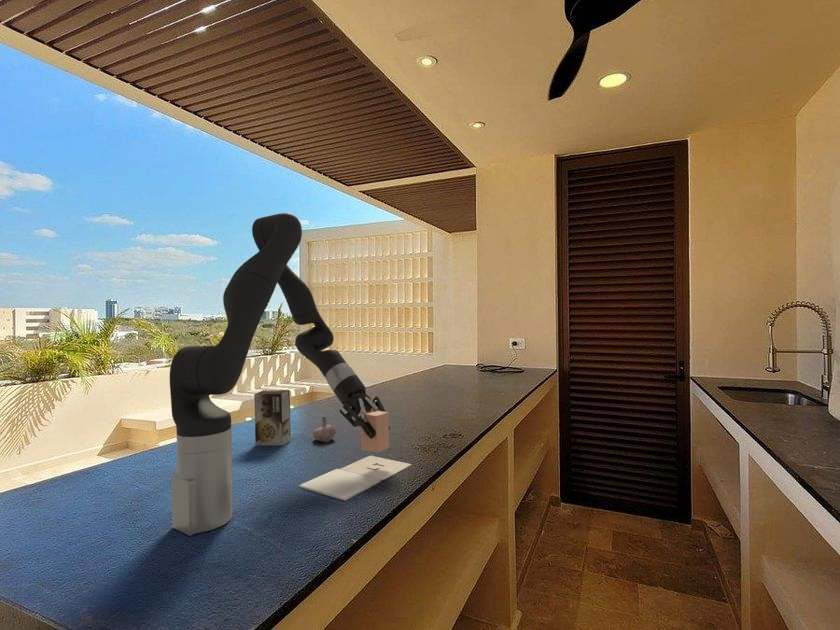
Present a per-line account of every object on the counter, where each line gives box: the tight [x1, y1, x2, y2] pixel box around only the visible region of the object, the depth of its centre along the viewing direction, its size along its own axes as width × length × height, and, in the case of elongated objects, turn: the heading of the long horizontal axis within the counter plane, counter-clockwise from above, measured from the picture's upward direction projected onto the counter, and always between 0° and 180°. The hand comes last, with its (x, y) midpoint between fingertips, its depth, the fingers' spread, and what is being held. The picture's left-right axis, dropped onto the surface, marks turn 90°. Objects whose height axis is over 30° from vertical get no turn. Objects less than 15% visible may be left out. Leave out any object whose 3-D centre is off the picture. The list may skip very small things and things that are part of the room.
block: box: [360, 410, 390, 453], centre depth 105 cm, size 5×5×9 cm
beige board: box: [298, 468, 382, 501], centre depth 94 cm, size 12×14×1 cm
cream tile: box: [340, 455, 413, 481], centre depth 105 cm, size 12×14×1 cm
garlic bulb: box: [312, 415, 336, 443], centre depth 131 cm, size 8×7×8 cm
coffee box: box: [253, 389, 292, 447], centre depth 129 cm, size 9×6×16 cm
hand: (380, 433), depth 104 cm, fingers closed on block, 5 cm apart
